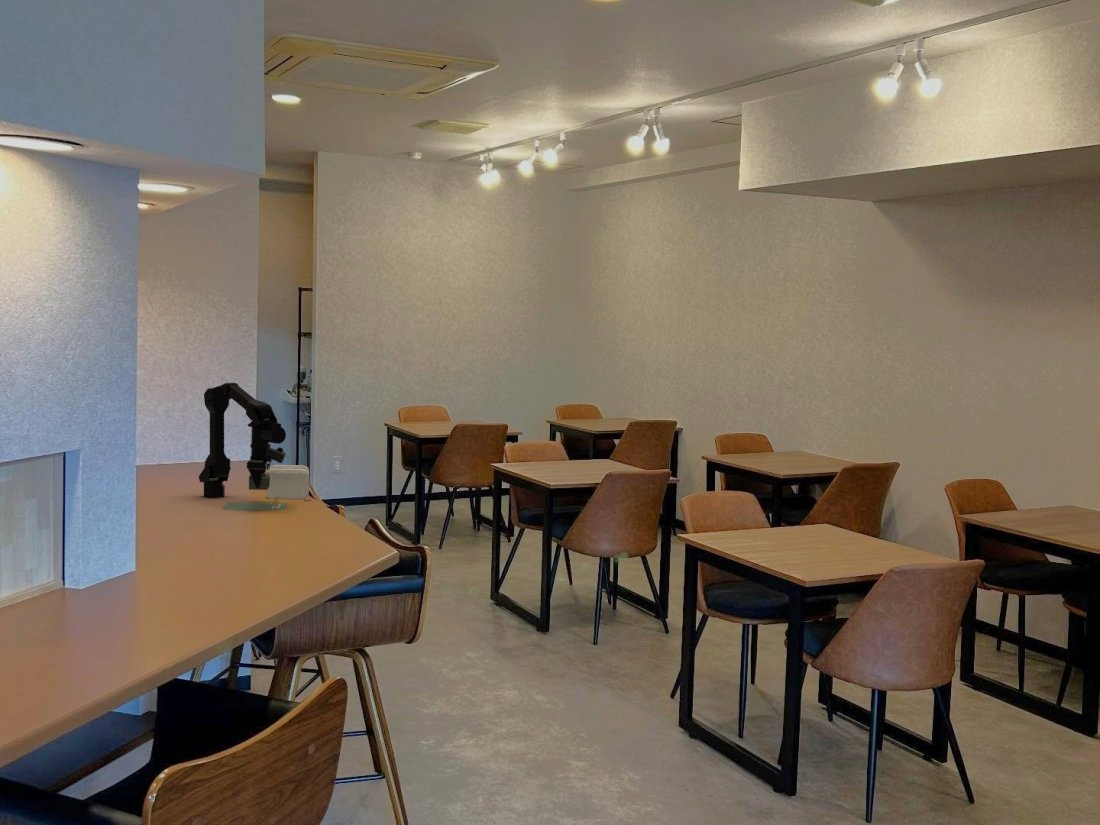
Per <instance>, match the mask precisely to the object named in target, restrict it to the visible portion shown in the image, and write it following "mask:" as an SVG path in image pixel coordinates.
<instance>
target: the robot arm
mask: <svg viewBox="0 0 1100 825" xmlns="http://www.w3.org/2000/svg"><path fill="white" fill-rule="evenodd" d="M203 400H204V407H205V408H206V411H208V413H209V454H208V455H207V457H206V459H205V461H204V468H203V469H202V470H201V473H199V475H198V480H199V483H203V498H207V499H219V498H224V497H225V495H226V491H225V490H226V485H225V484H224V482H228V480H229V476H230V472H231V458H230V457H228V456H227V455H226V454H225V412H226V411H227V409H229V406H230V400H233V401H234V402H235V403H237V405H239V406H240V407H241V408H242V409H244V411H245V415H246V416H247V418H248V419H249V420H250V422H249V423H248V424H247V427H249V428H251V434H250V435H251V436H250V437H251V440H250V442H251V443H250V446H249V447H250V449H251V450H250V457H249V460H248V461H247V462H246V469H247V470H248V472H249V476H250V475H251V477H252V479H253V481H254V484H255V486H256V488H260V483H261V478H262V473H264V474H266V472H267V471H266V470H267V469H268V467H271V465H272V463H273V461H275V462H277V463H279V464H283V463H284V459H285V457H286V455H287V454H286V452H284V447H280V446H279V447H277V448H272V447H271V444H272V443H273V444H278V445H279V444H280V445H281V444H282V443H283V442H284V441H285V440H286V438H287V433H286V431H285V428H283V427H282V423H280V422H278V419H277V417H276V415H275V412H274V411H273V407H272V405H271V404H269V403H267V402H265V401H261V400H258V399H256V398H254V397H253V396H251V395H250V394H249V393H248V392H247V391H246V390H244V389H243V388H242V387H240V385H239V384H238V383H236V382H225V383H222V384H220V385H217V386H215V387H211V388H210V387H209V388H207V389H206V390H205V391H204V393H203ZM270 443H271V444H270ZM268 462H269V463H268Z"/></svg>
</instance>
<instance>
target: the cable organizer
mask: <svg viewBox="0 0 1100 825" xmlns="http://www.w3.org/2000/svg"><path fill="white" fill-rule="evenodd" d="M265 474H270V487H269V488H268V489H267V490H265V494H266V497H267V498H268V499H274V500H275V498H276V497H277V496H278V500H280V499H282V500H283V499H286V500H287V499H289V500H293V499H294V500H305V499H307V498H308V497H309V494H310V490H309V489H310V469H309V467H308V466H306V465H301V464H300V465H297V464H295V465H290V464H289V465H288V464H274V465H271V466H270V468H269V469H268V470H267V471H266V472H265Z"/></svg>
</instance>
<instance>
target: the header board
mask: <svg viewBox="0 0 1100 825" xmlns="http://www.w3.org/2000/svg"><path fill="white" fill-rule="evenodd" d="M287 505H288V502H279V499H278V496H277V497H276V498H275V499H274V502H235V501H234V502H229V501H228V502H227V503H226V504H225V505H224V506H223V507H222V508H221V509H222V511H224V510H225V511H229V510H230V511H234V510H235V511H284V509H285V508H286V506H287Z"/></svg>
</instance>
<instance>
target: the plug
mask: <svg viewBox="0 0 1100 825" xmlns="http://www.w3.org/2000/svg"><path fill="white" fill-rule="evenodd" d="M269 487H270V474H266V473H265V474H264V473H262V478H261V483H260V488H256V486H255V484H254V481H253V479H252V477H251V475H250V474H249V476H248V490H249V491H250V490H254V491H255V490H256V491H257V490H258V491H264V490H265V491H266V490H267V489H268V488H269Z"/></svg>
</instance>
